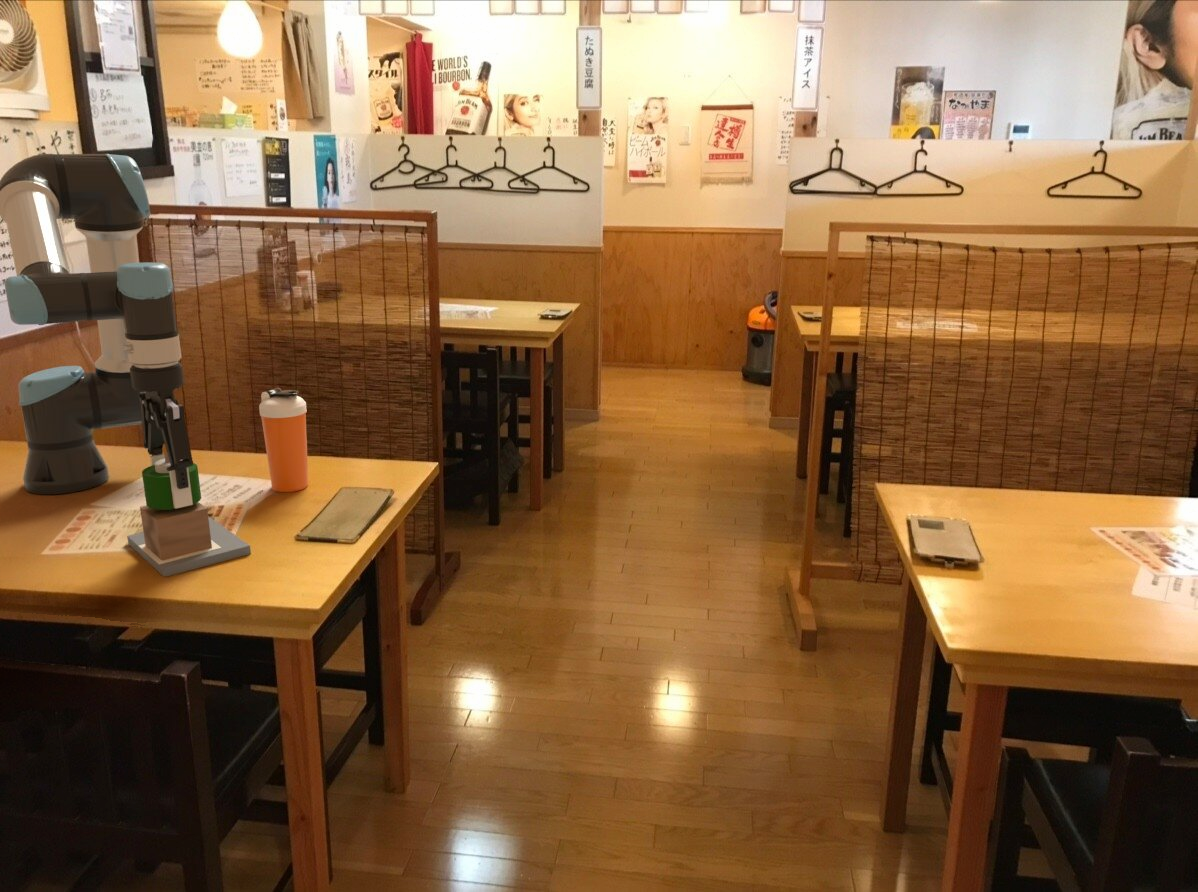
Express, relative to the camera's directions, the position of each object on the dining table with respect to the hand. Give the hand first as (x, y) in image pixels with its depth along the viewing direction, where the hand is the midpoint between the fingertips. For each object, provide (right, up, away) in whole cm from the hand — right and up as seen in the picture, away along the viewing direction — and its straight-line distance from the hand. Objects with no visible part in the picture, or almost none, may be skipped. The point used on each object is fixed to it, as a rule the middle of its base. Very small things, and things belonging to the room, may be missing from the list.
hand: (173, 498), depth 153 cm
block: (0, -8, +2) cm, 8 cm away
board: (0, -9, +6) cm, 10 cm away
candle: (0, 0, 0) cm, 1 cm away
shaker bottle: (+7, 0, +37) cm, 37 cm away
